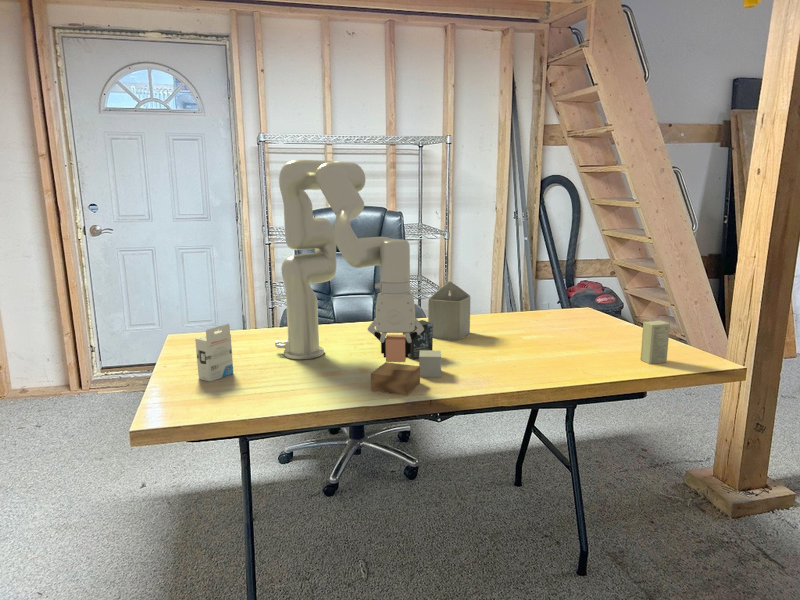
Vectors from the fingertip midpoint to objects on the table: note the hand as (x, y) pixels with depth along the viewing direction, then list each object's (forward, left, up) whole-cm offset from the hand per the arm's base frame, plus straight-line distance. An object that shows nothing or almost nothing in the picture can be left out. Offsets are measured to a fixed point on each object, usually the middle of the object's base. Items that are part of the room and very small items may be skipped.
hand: (396, 355), depth 148 cm
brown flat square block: (0, 0, -9) cm, 9 cm away
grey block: (+9, +11, -9) cm, 17 cm away
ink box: (-51, +6, -9) cm, 52 cm away
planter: (+17, +50, -9) cm, 54 cm away
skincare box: (+76, +25, -9) cm, 80 cm away
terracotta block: (0, 0, -1) cm, 1 cm away
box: (+5, +28, -9) cm, 30 cm away
